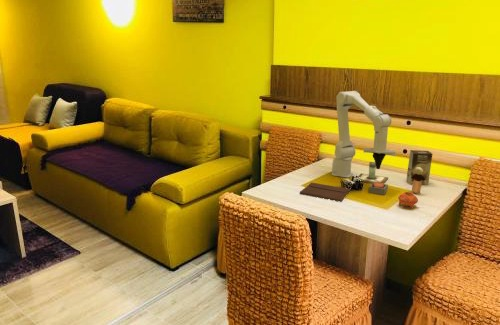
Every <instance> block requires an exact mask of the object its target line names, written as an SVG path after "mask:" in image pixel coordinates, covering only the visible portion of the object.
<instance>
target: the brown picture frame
mask: <svg viewBox="0 0 500 325" xmlns="http://www.w3.org/2000/svg"><path fill="white" fill-rule="evenodd" d="M357 177H360V178H362V179H364V182H363V183H365V184H370V185H371V184H372V183H375V182H381V183H383V184H385V183H386V182H387V181H388V180H389V177H388V176H387V177H386V176H383V175H382V176H381V175H376V174H375V179H370V178H368V177H369V173H367V174H366V173H362V172H361V173H360V174H359V175H358V176H357Z"/></svg>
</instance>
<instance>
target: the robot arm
mask: <svg viewBox="0 0 500 325" xmlns="http://www.w3.org/2000/svg"><path fill="white" fill-rule="evenodd" d="M354 105H355V106H356V107H358V108H359V109H361V110H362V111H363V113H364V116H365V117H367V118H368V119H369V120H370V121H371V122H372V124H373V130H374V137H373V147H364V148H363V153H365V154H367V153H369V154H372V158H373V160H374V162H375V164H376V170H380V169H381V165H382V163H383V161H384V159H385V157H386V155H387V156H393V157H395V156H396V155H397V151H396V150H391V149H387V144H388V134H389V132H388V131H389V127H390V126H391V125H392V118H391V116H390V115H389V114H387V113H386V114H385V113H383V112H382V111H380V110H379V109H378V108H377V106H376V105H369V103H367V101H366V100H364V98H362V96H361V94H360V93H359V92H358V91H357V90H351V91H339V92H338V94H337V95H336V114H337V128H338V129H337V130H338V142H337V143H336V144H335V149H334V156H335V157H334V158H333V160H332V166H331V174H330V175H331V176H334V177H335V176H336V177H342V178H346V179H347V178H350V177H351V176H352V175H353V174H354V173H353V172H352V160H353V159H354V157H355V156H356V148H355V144H354V142H352V141H351V139H350V137H351V136H350V125H349V109H350V108H351V107H353V106H354Z"/></svg>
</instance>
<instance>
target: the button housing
mask: <svg viewBox="0 0 500 325" xmlns="http://www.w3.org/2000/svg"><path fill="white" fill-rule="evenodd" d="M388 186H389V185H388V184H385V183H384V186H383V188H378V187H374V183H372V184H370V185H369V186H368V194H374V195H380V196H385V195H386V193H387V192H388Z"/></svg>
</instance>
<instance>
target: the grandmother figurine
mask: <svg viewBox="0 0 500 325" xmlns="http://www.w3.org/2000/svg"><path fill="white" fill-rule="evenodd" d="M415 170H416V174H414V175H412V176H411V178H410V180H409V181H412V179H414V181H413V184H411V185H412V186H411V190H410V191H409V192H410V193H413V194H416V195H420V194H421V189H422V185H421V180H423V181H424V183H425V184H426V183H427V182H426V179H425V177H424V176H422V175H420V174H421V173H422V172H423V170H422V168H421V167H417V168H416V169H415Z"/></svg>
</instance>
